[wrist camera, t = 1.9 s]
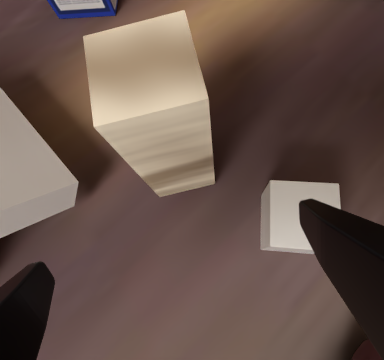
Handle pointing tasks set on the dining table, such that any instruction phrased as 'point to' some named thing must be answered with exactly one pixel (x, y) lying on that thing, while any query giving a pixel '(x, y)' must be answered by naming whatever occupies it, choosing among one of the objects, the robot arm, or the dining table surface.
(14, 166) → the pizza boxes
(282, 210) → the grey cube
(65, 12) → the milk carton
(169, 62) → the birch block
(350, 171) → the dining table surface
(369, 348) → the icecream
